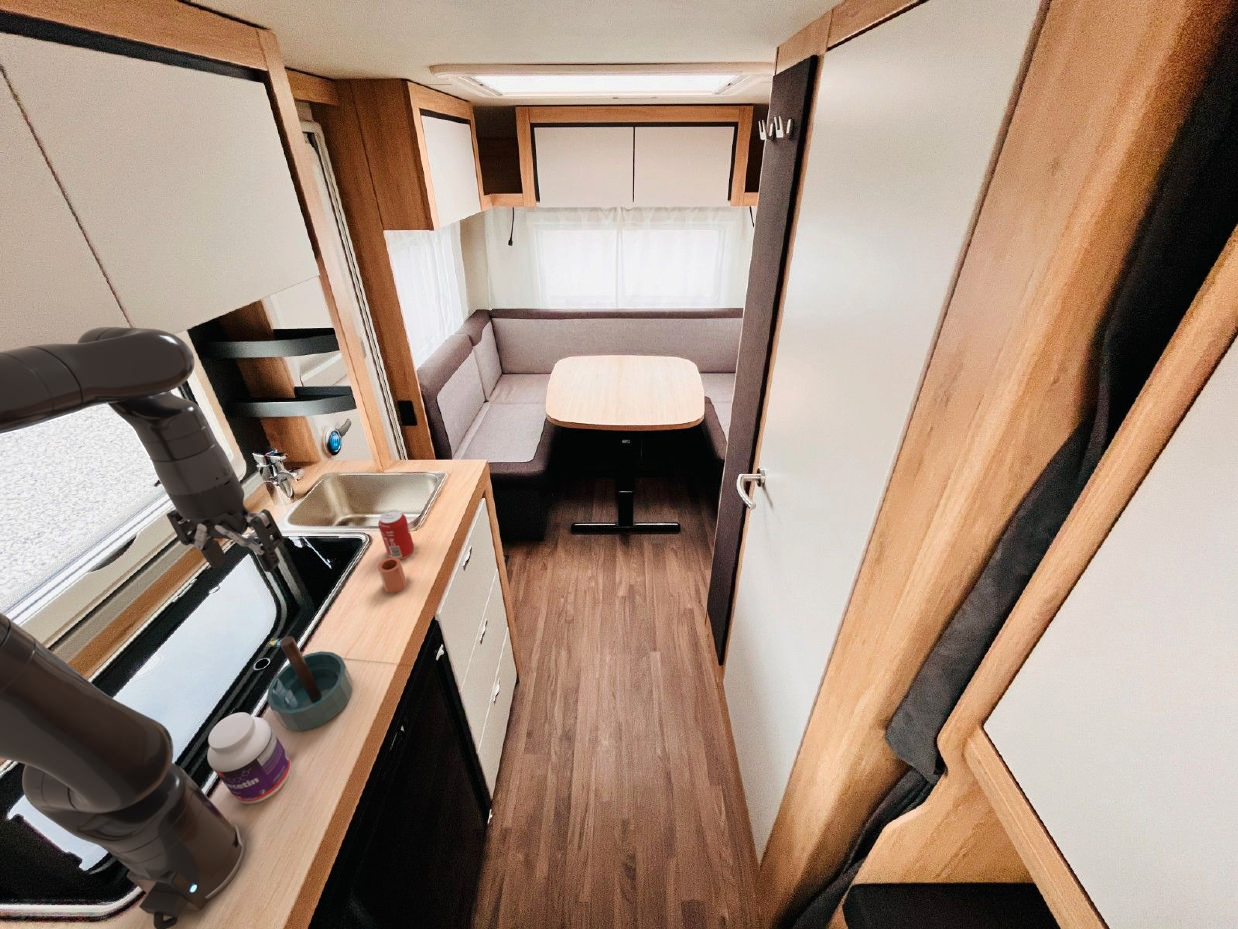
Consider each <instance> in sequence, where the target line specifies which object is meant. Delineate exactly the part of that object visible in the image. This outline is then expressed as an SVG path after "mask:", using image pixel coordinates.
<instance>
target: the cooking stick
mask: <svg viewBox="0 0 1238 929" xmlns="http://www.w3.org/2000/svg"><path fill="white" fill-rule="evenodd" d="M279 645H280V648H281V649H282V651H283V653H284V655H285V656H286V658H287V660H288V662H289V664H291V666H292V667H293V669H294V671H295V673H296V675H297V677H298V678H299V680H300V682H301V684H302V686H303V688H304V689H305V691H306V693H307V695H308V697H309V699H310V701H312V702H316V701H318V700H320V699H321V697H322V693H321V691H320V689H319V687H318V685H317V683H316V681H315V679H314V677H313V675H312V673H311V671H310V669H309V667H308V666H307V664H306V662H305V660H304V658H303V656H304V655H303V654H302V652H301V650H300V648H299V646H298V645H297V642H296V641H295V638H294V637H293V636H291V635H288V636H285V637H283V638H282V639H281V640H280V642H279Z"/></svg>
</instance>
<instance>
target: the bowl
mask: <svg viewBox="0 0 1238 929" xmlns="http://www.w3.org/2000/svg"><path fill="white" fill-rule="evenodd" d="M302 656H303V658H304V660H305V662H306V664H307V666H308V667H309V669H310V671H311V673H312V675H313V677H314V679H315V681H316V683H317V685H318V687H319V689H320V691H321V693H322V697H321V699H320V700H318V701H316V702H312V701H310V699H309V697H308V695H307V693H306V691H305V689H304V688H303V686H302V684H301V682H300V680H299V678H298V677H297V675H296V673H295V671H294V669H293V667H292V666H291V664H290V663H288V664H287V665H286V666H284V667H283V668H282V669H281V670H280V671H279V672H278V673H277V674H276V675H275V676H274V678H273V679H272V681H271V682H270V685H269V687H268V689H267V694H266V701H267V703H268V705H269V708H270V710H271V711H272V713H273V714H274V716H275V717H276V719H277V720H278V722H279V724H280V725H281V726H283V727H284V728H286V729H287V730H290V731H291V730H292V731H298V732H299V731H300V732H301V731H307V730H311V729H315V728H317V727H319V726H321V725H323V724H325V723H327V722H329V721H330V720H331V719H333V718H334V717H335V716H337V714H339V713H340V712H341V711H342V710H343V708H344V707H345V706H346V705H347V704H348V703H349V700H350V698H351V695H352V692H353V686H354V684H353V683H354V682H353V679H352V676H351V674H350V672H349V670H348V667H347V666H346V663H345V661H344V660H343V658H342V656H340V655H338V654H337V653H335V652H332V651H316V652H310V653H308V654H305V655H302Z"/></svg>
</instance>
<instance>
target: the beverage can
mask: <svg viewBox="0 0 1238 929" xmlns="http://www.w3.org/2000/svg"><path fill="white" fill-rule="evenodd" d="M377 525H378V528H379V532H380V535H381V538H382V542H383V544H384V547H385V550H386V553H387V556H388V558H392V557H393V558H398V559H399V560H403V559H406V558H408V557H409V556H411V554H412V553H413V552H414V550H415V544H414V541H413V538H412V533H411V530H410V526H409V524H408V518H407V517H406V515H405V514H404V513H402V511H400V510H398V509H391V510H387V511H385V512H383V513H382V514H381V515H380V516H379V520H378V524H377Z"/></svg>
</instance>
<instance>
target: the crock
mask: <svg viewBox="0 0 1238 929" xmlns="http://www.w3.org/2000/svg"><path fill="white" fill-rule="evenodd" d="M377 571H378V573H379V576H380V580H381V582H382V585H383V588H384V591H385V592H386V593H389V594H395V593H399V592H401V591H403V590H404V589H405V588H406V587H407V585H408V582H407V577H406V574H405V571H404V568H403V564H402V561H401V559H398V558H393V557H392V558H390V557H388V558H385V559H383V560H382V561H380V562H379V563H378V565H377Z"/></svg>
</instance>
